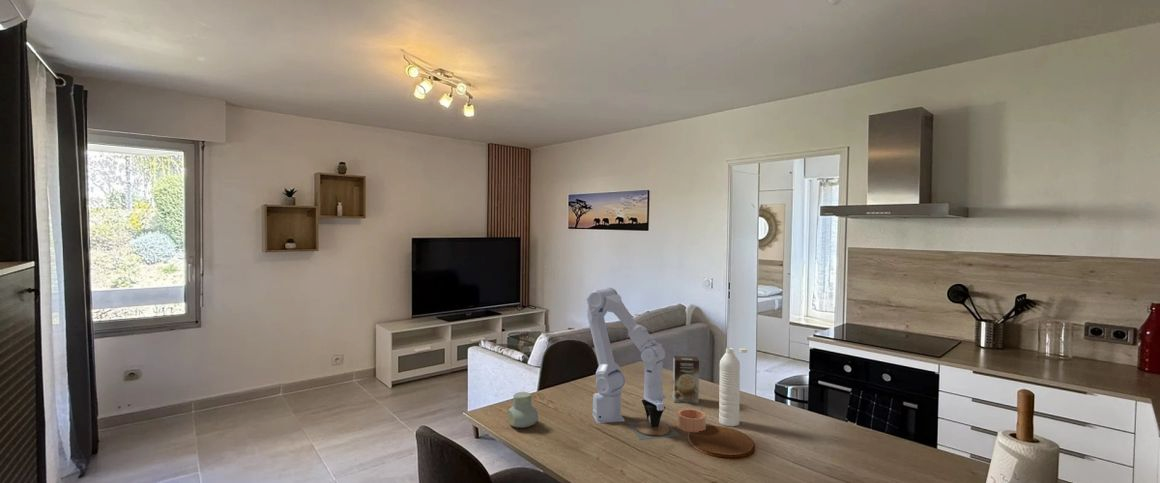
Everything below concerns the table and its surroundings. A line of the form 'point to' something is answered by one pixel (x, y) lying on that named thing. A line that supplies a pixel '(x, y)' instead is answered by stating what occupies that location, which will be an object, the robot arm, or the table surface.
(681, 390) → the coffee box
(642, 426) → the lid
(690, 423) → the bowl
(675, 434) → the mat
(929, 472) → the table surface
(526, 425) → the air freshener
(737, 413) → the water bottle
